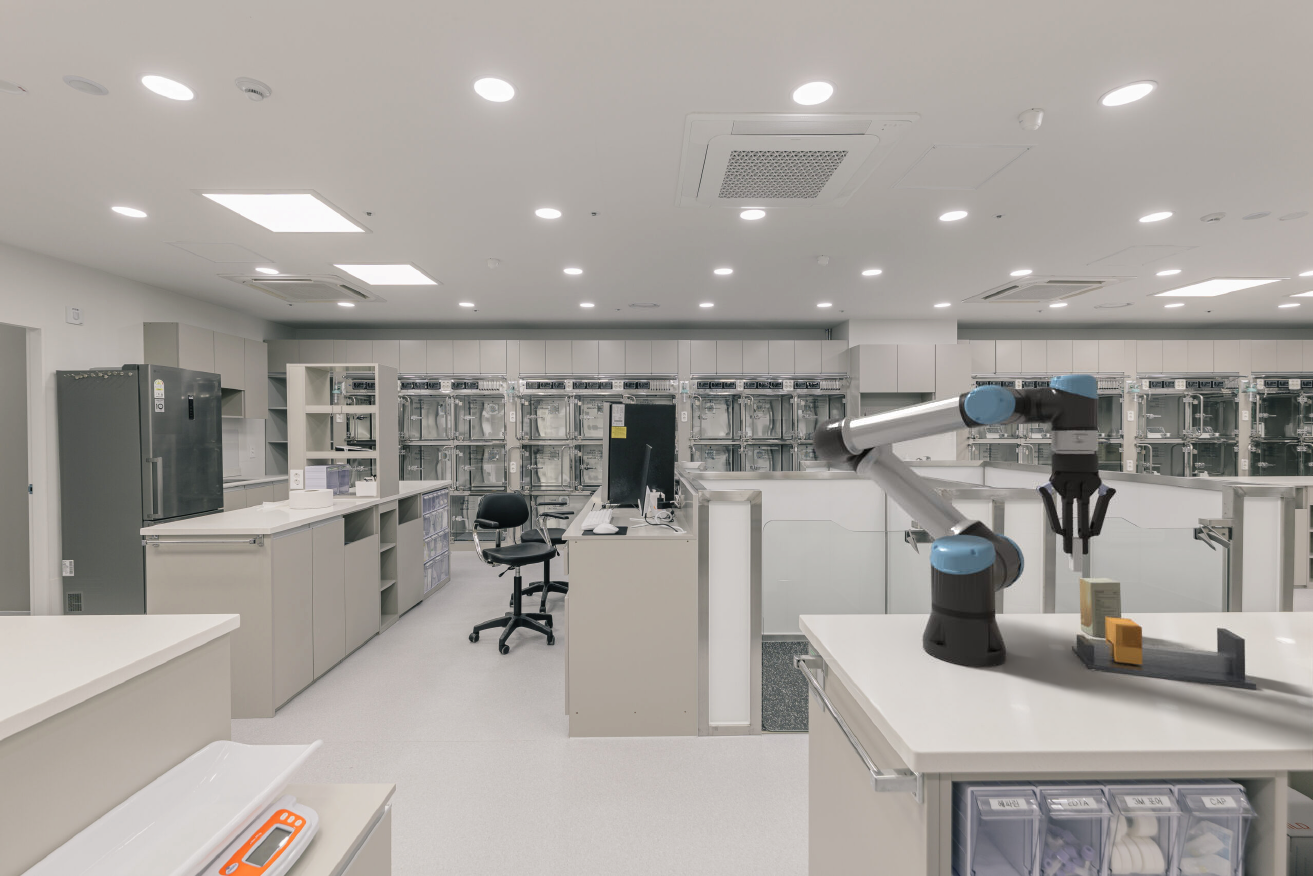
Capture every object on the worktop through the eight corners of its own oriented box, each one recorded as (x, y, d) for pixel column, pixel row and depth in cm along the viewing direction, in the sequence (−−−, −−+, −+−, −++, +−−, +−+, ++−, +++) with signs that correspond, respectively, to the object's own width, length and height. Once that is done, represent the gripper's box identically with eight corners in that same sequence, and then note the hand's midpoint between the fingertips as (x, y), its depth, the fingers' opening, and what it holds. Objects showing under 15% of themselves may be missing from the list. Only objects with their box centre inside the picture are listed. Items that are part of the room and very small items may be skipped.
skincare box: (1108, 630, 126) (1108, 577, 126) (1123, 637, 122) (1122, 582, 122) (1078, 630, 127) (1078, 577, 127) (1091, 636, 123) (1091, 581, 123)
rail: (1088, 669, 106) (1087, 627, 106) (1071, 650, 115) (1071, 612, 115) (1256, 689, 97) (1255, 643, 97) (1223, 667, 106) (1222, 625, 106)
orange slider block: (1116, 661, 106) (1115, 625, 106) (1105, 651, 111) (1105, 616, 111) (1142, 664, 104) (1141, 627, 104) (1130, 654, 109) (1130, 618, 109)
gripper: (1041, 453, 110) (1042, 571, 110) (1122, 453, 105) (1124, 577, 105) (1031, 452, 117) (1032, 563, 117) (1107, 452, 112) (1108, 568, 112)
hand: (1075, 570), depth 111 cm, fingers closed
